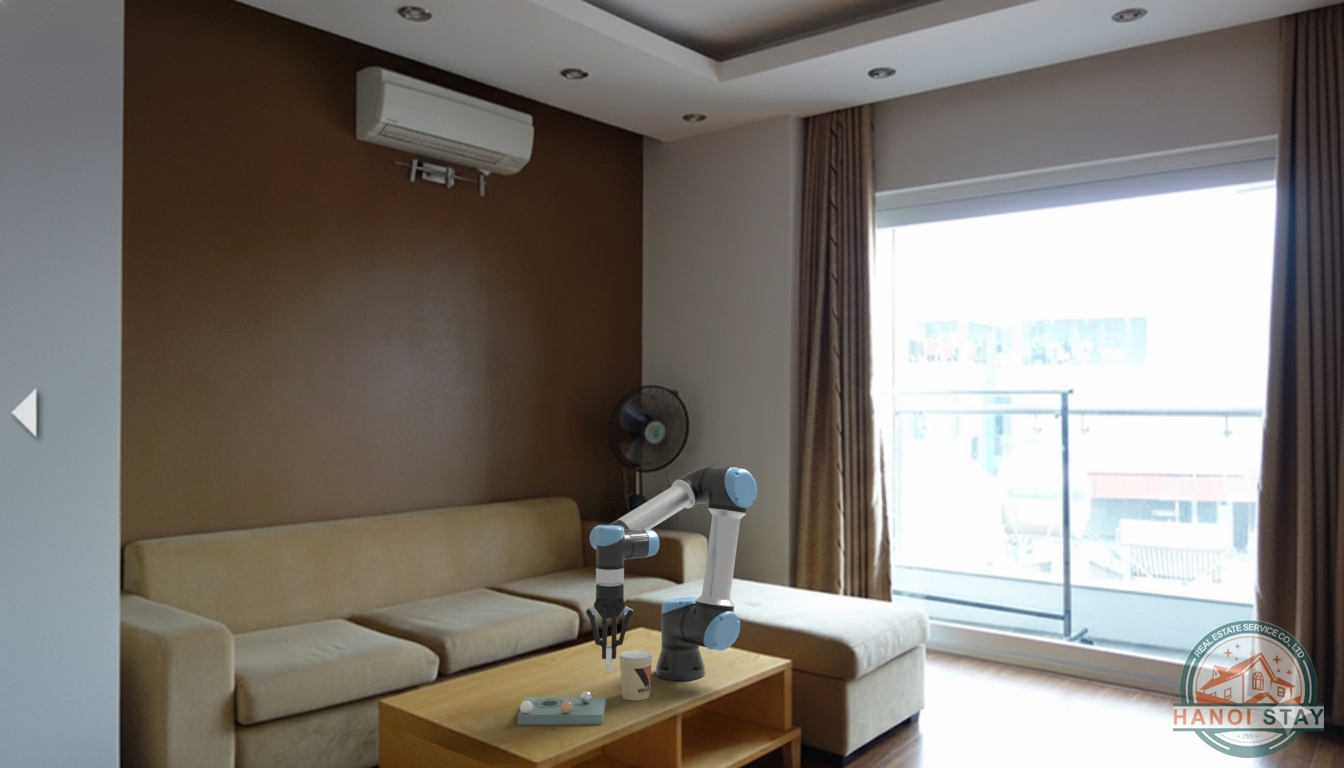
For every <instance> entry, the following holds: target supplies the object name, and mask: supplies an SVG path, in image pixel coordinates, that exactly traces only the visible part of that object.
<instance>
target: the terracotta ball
mask: <svg viewBox="0 0 1344 768" xmlns="http://www.w3.org/2000/svg"><path fill="white" fill-rule="evenodd" d="M560 709H561V711H562V712H563V713H569V712H570V711H571V710H572V703H571V702H570V701H567V700H566V701H563V702H562V703H561V705H560Z"/></svg>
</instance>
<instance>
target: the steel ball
mask: <svg viewBox="0 0 1344 768" xmlns="http://www.w3.org/2000/svg"><path fill="white" fill-rule="evenodd" d="M579 697H580V699H581V701H582V702H583V703H589V702H590V701H591V700H592V697H593V696H592V693H591V692H590V691H587V690H583V692H581V693H580V696H579Z"/></svg>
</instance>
